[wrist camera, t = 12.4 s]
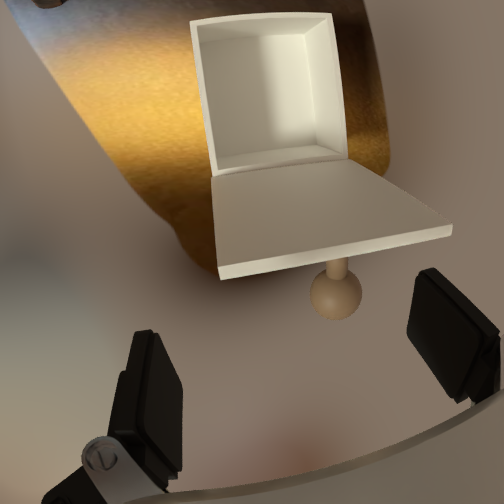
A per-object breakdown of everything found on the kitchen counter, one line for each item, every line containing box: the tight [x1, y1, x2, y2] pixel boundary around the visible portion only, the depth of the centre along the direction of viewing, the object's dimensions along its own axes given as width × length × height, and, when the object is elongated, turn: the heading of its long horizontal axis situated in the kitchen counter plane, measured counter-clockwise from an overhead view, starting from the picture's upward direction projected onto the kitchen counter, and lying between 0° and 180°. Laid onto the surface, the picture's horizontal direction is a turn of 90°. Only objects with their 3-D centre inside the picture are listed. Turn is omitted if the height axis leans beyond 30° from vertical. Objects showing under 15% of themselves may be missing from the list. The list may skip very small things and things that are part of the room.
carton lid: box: [211, 159, 453, 320], centre depth 25 cm, size 16×14×7 cm
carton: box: [190, 12, 348, 177], centre depth 31 cm, size 16×14×9 cm
